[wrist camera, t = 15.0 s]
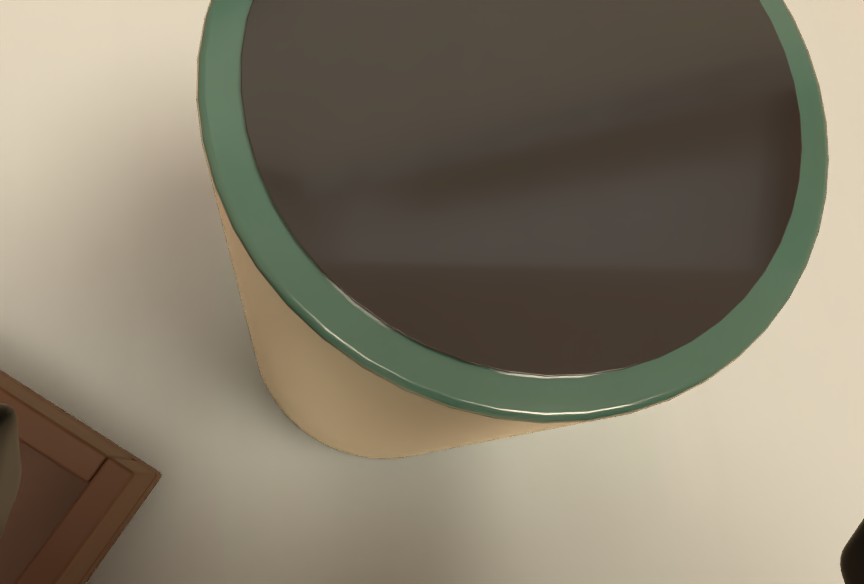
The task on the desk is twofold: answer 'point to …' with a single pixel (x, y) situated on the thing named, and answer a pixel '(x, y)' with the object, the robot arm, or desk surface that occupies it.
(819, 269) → the desk surface
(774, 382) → the desk surface
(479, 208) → the pen pot
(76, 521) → the tray
